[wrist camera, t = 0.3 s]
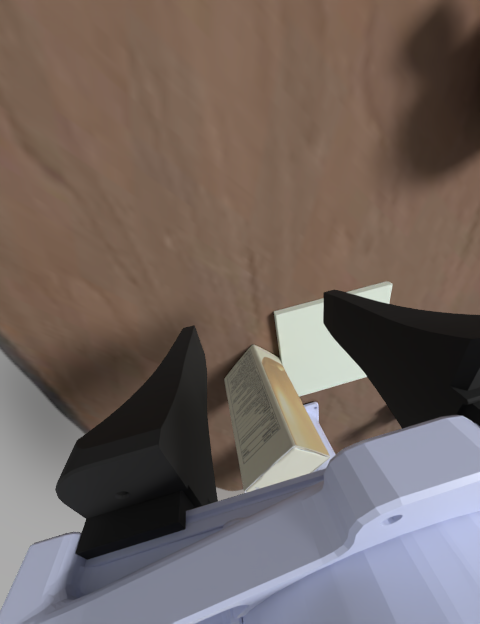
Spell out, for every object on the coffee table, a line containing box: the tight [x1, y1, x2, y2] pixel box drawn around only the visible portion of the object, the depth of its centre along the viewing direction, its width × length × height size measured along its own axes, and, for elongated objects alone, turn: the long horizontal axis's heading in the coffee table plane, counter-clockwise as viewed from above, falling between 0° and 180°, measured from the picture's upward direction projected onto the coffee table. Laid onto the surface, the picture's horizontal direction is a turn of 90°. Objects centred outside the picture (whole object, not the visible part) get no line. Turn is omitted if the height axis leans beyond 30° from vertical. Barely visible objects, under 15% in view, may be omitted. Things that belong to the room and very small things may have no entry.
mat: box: [274, 281, 392, 396], centre depth 28 cm, size 14×13×1 cm
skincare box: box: [224, 345, 330, 493], centre depth 22 cm, size 6×4×12 cm
